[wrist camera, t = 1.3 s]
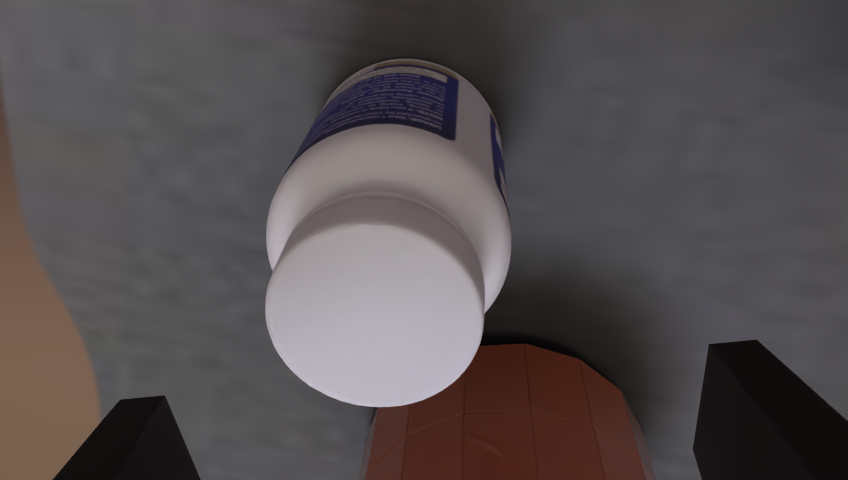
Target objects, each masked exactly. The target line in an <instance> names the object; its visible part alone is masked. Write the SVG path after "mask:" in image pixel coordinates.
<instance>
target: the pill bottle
mask: <svg viewBox="0 0 848 480" xmlns="http://www.w3.org/2000/svg"><path fill="white" fill-rule="evenodd" d="M511 238H512V232H511V224H510V214H509V207H508V197H507V191H506V182H505V172H504V159H503V150H502V142H501V136H500V132H499V128H498V125H497V122H496V120H495V117H494V115H493V113H492V111H491V109H490V107H489V105H488V104H487V102H486V101H485V99H484V98H483V96H482V95H481V94H480V92H479V91H478V90H477V89H476V88H475V87H474V86H473V85H472V84H471V83H470V82H469V81H467V80H466V79H465V78H464V77H462V76H461V75H459V74H458V73H456V72H455V71H453V70H451V69H449V68H447V67H444V66H442V65H439V64H436V63H433V62H429V61H425V60H418V59H391V60H386V61H382V62H379V63H375V64H372V65H370V66H368V67H366V68H363V69H361V70H359V71H358V72H356V73H355V74H353V75H352V76H350V77H349V78H347V79H346V80H345V81H344V82H343V83H341V84H340V85H339V86H338V87H337V89H336V90H335V91H334V92H333V93H332V94H331V96H330V97H329V99H328V100H327V102H326V103H325V105H324V106H323V108H322V110H321V111H320V113H319V115H318V117H317V119H316V120H315V122H314V124H313V126H312V127H311V129H310V131H309V133H308V135H307V136H306V138H305V140H304V141H303V143H302V145H301V146H300V148H299V150H298V152H297V154H296V155H295V157H294V159H293V160H292V162H291V164H290V166H289V167H288V169H287V170H286V172H285V173H284V176H283V178H282V180H281V182H280V184H279V186H278V188H277V190H276V192H275V195H274V197H273V200H272V203H271V206H270V209H269V214H268V219H267V227H266V244H267V253H268V258H269V262H270V265H271V268H272V271H273V273H272V275H271V278H270V281H269V283H268V287H267V291H266V300H265V317H266V323H267V328H268V331H269V334H270V337H271V340H272V342H273V344H274V347H275V348H276V350H277V352H278V354H279V355H280V357H281V358H282V359H283V361H284V362H285V364H286V365H287V366H288V367H289V368H290V369H291V370H292V371H293V372H294V373H295V374H296V375H297V376H298V377H299V378H300V379H301V380H303V381H304V382H306V383H307V384H308V385H309V386H310V387H312V388H314V389H316V390H318V391H320V392H322V393H324V394H325V395H327V396H330V397H332V398H335V399H337V400H340V401H343V402H347V403H351V404H355V405H360V406H370V407H393V406H402V405H407V404H411V403H415V402H418V401H421V400H424V399H426V398H429V397H431V396H433V395H435V394H437V393H438V392H440V391H442V390H444V389H445V388H447V387H448V386H449V385H450V384H452V383H453V382H454V381H456V379H458V378H459V377H460V375H461V374H462V373H464V371H465V370H466V369H467V367H468V366H469V364H470V363H471V361H472V360H473V358H474V356H475V354H476V352H477V350H478V347H479V345H480V342H481V338H482V334H483V327H484V314H485V313H486V311H487V310H488V309H489V308H490V307H491V305H492V304H493V302H494V301H495V299H496V298H497V296H498V294H499V293H500V291H501V288H502V286H503V284H504V281H505V278H506V276H507V272H508V268H509V264H510V258H511Z"/></svg>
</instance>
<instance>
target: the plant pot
mask: <svg viewBox="0 0 848 480" xmlns="http://www.w3.org/2000/svg"><path fill="white" fill-rule="evenodd" d="M359 480H656V477H655V473H654V470H653V467H652V463H651V460H650V456H649V453H648V450H647V446H646V443H645V439H644V436H643V433H642V429H641V427H640V425H639V424H638V422H637V420H636V418H635V416H634V414H633V412H632V410H631V408H630V406H629V404H628V403H627V401H626V399H625V397H624V395H623V393H622V391H621V390H620V389H619V388H617V387H616V386H615V385H613V384H612V383H611V382H609V381H608V380H607V379H605V378H604V377H603V376H601V375H600V374H599V373H597V372H596V371H595V370H593V369H592V368H591V367H589V366H588V365H587V364H585V363H584V362H583V361H581V360H579V359H578V358H575V357H571V356H568V355H564V354H561V353H557V352H554V351H550V350H547V349H543V348H540V347H536V346H533V345H529V344H526V343H525V344H524V345H523V344H503V345H483V346H479V347H478V350H477V352H476V354H475V356H474V358H473V360H472V361H471V363H470V364H469V366H468V367H467V369H466V370H465V371H464V373H462V374H461V375H460V377H459V378H458V379H456V381H454V382H453V383H452V384H450V385H449V386H448V387H447V388H445V389H444V390H442V391H440V392H438V393H437V394H435V395H433V396H431V397H429V398H426V399H424V400H421V401H418V402H415V403H411V404H407V405H402V406H393V407H377V410H376V413H375V416H374V419H373V422H372V424H371V427H370V430H369V433H368V436H367V439H366V443H365V449H364V454H363V459H362V465H361V470H360V476H359Z"/></svg>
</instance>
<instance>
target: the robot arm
mask: <svg viewBox="0 0 848 480" xmlns="http://www.w3.org/2000/svg"><path fill="white" fill-rule="evenodd" d="M693 451H694V454H695V458H696V461H697V464H698V468H699V471H700V475H701V478H702V480H848V421H847V420H846V419H845V418H844V417H842V416H841V415H840V414H839V413H838V412H837V411H836V410H835V409H833V408H832V407H831V406H830V405H829V404H828V403H827V402H826V401H824V400H823V399H822V398H821V397H820V396H819V395H818V394H817V393H815V392H814V391H813V390H812V389H811V388H810V387H809V386H808V385H807V384H805V383H804V382H803V381H802V380H801V379H800V378H799V377H798V376H797V375H795V374H794V373H793V372H792V371H791V370H790V369H789V368H788V367H787V366H786V365H784V364H783V363H782V362H781V361H780V360H779V359H778V358H777V357H776V356H774V355H773V354H772V353H771V352H770V351H769V350H768V349H766V348H765V347H764V346H763V345H762V344H761V343H760V342H758V341H757V340H749V341H738V342H728V343H717V344H709V348H708V354H707V361H706V367H705V374H704V380H703V387H702V393H701V400H700V406H699V413H698V419H697V426H696V432H695V439H694V445H693ZM53 480H200V477H199V475H198V473H197V470H196V468H195V466H194V463H193V461H192V458H191V456H190V454H189V451H188V449H187V447H186V444H185V442H184V440H183V437H182V435H181V432H180V430H179V428H178V425H177V423H176V421H175V418H174V416H173V414H172V411H171V409H170V406H169V404H168V402H167V399H166V397H165V396H155V397H144V398H133V399H123V400H120V401H119V402H118V403H117V404H116V405H115V406H114V408H113V409H112V410H111V411H110V412H109V413H108V415H107V416H106V417H105V418H104V419H103V420H102V422H101V423H100V424H99V425H98V427H97V428H96V429H95V430H94V431H93V432H92V434H91V435H90V436H89V437H88V438H87V439H86V441H85V442H84V443H83V444H82V446H81V447H80V448H79V449H78V450H77V451H76V453H75V454H74V455H73V456H72V457H71V458H70V460H69V461H68V462H67V463H66V465H65V466H64V467H63V468H62V469H61V470H60V472H59V473H58V474H57V475H56V477H55V478H54V479H53Z"/></svg>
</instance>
